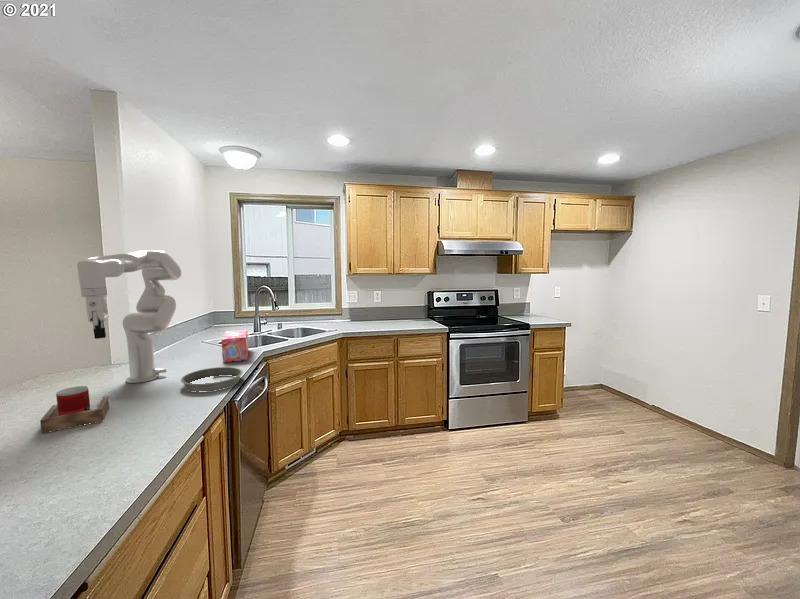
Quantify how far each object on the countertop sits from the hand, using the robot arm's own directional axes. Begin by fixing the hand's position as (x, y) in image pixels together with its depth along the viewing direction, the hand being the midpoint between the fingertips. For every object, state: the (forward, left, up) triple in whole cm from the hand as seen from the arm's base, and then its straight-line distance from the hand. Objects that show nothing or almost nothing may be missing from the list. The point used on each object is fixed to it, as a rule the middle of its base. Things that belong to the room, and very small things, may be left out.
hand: (100, 337), depth 134 cm
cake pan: (-38, +4, -26) cm, 46 cm away
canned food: (+6, +19, -25) cm, 32 cm away
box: (-54, -41, -26) cm, 72 cm away
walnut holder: (+5, +19, -25) cm, 32 cm away
